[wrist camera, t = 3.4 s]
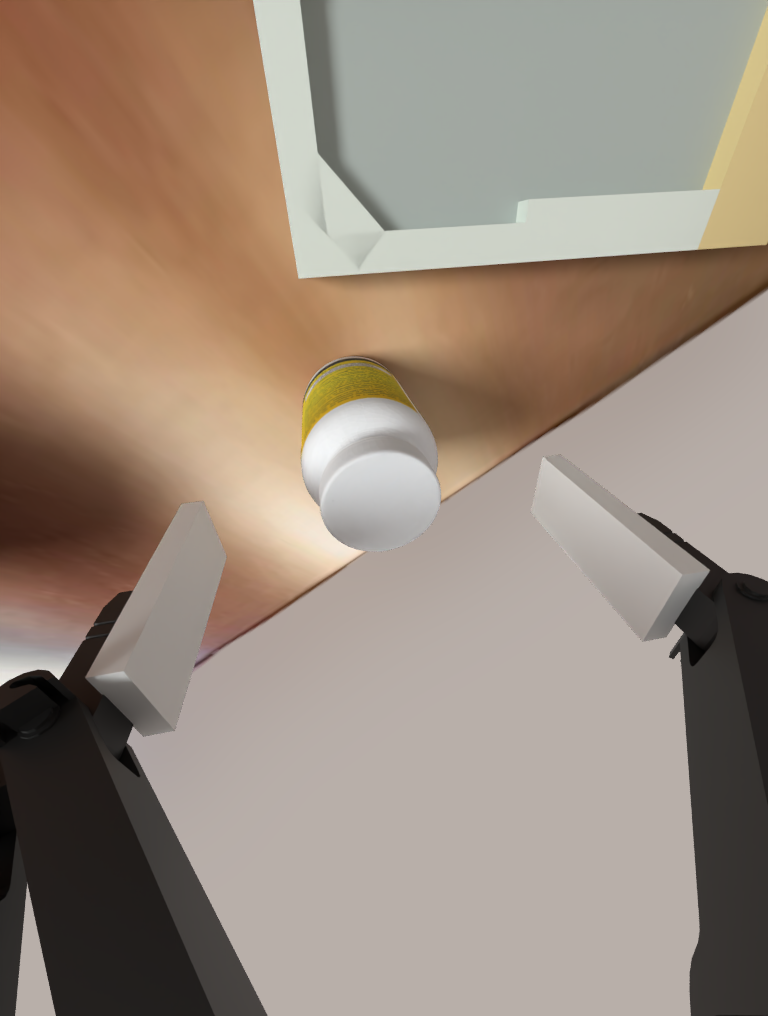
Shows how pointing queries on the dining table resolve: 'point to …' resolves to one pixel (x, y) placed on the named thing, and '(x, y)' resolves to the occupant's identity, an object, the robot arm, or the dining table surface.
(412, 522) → the pill bottle
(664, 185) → the keyhole board
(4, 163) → the dining table surface
